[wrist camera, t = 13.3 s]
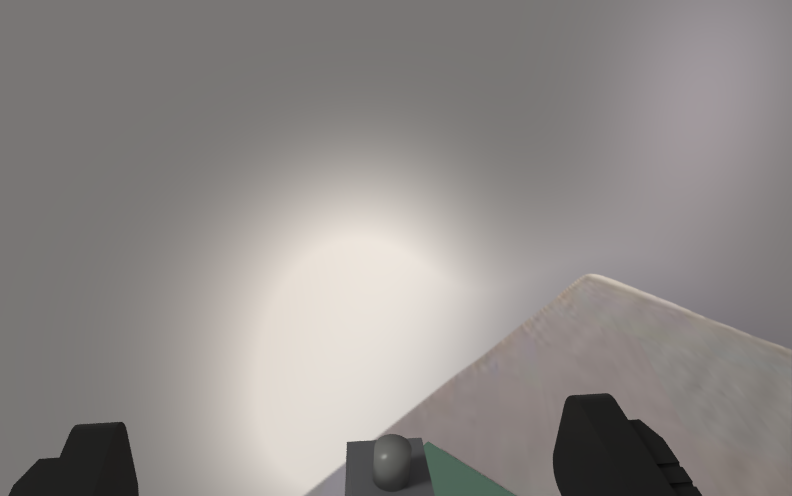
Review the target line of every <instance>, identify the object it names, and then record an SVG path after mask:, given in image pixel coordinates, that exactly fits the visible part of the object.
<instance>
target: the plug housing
mask: <svg viewBox="0 0 792 496" xmlns="http://www.w3.org/2000/svg"><path fill="white" fill-rule="evenodd" d="M345 496H435V494H434V490H433V485H432V481H431V477H430V473H429V468H428V464H427V460H426V455H425V451H424V447H423V442H422V438H409V439H406V438H404V437H402V436H400V435H396V434H389V435H384V436H382V437H380V438H379V439H378V440H373V441H357V442H347V456H346V484H345Z"/></svg>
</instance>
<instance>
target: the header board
mask: <svg viewBox="0 0 792 496" xmlns="http://www.w3.org/2000/svg"><path fill="white" fill-rule="evenodd" d="M423 447H424V451H425V455H426V460H427V464H428V468H429V473H430V477H431V481H432V485H433V490H434V494H435V496H515V495H514V494H512V493H511V492H509V491H507V490H506V489H504V488H503V487H501V486H499V485H498V484H496V483H494V482H493V481H491V480H490V479H488V478H486V477H485V476H483V475H481V474H480V473H478V472H477V471H475V470H473V469H472V468H470V467H469V466H467V465H465V464H464V463H462V462H460V461H459V460H457V459H456V458H454V457H452V456H451V455H449V454H448V453H446V452H444V451H443V450H441V449H439V448H438V447H436V446H435V445H433V444H431V443H430V442H427V443H426V444H425V445H424V446H423Z"/></svg>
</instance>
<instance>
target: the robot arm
mask: <svg viewBox="0 0 792 496" xmlns="http://www.w3.org/2000/svg"><path fill="white" fill-rule="evenodd" d="M553 469H554V475H555V480H556V483H557V486H558V488H559V491H560V493H561V495H562V496H702V495H701V493H700V492H699V490H698V489H697V487H694V486H693V484H692V482H693V481H692V480H691V479H690V477H689V476H688V474H687V473H686V471H685V470H684V468H683V467H680V465H679V461H678V460H677V458H676V457H675V455H674V454H673V452H672V451H671V449H670V448H669V446H668V445H667V444H666V442H665V441H664V439H663V438H662V437H660V436H659V435H658V434H657V433H655V432H654V431H653V430H652V429H650V428H649V427H648V426H647V425H646V424H644V423H643V422H642V421H641V420H639V419H637V420H628V419H627V417H626V416H625V414H624V413H623V411H622V410H621V408H620V406H619V405H618V403H617V402H616V400H615V399H614V398H613V397H612V396H611V395H610V394H607V393H604V394H587V395H572V396H569V397H568V398H567V399H566V401H565V404H564V408H563V413H562V417H561V422H560V426H559V430H558V435H557V439H556V444H555V448H554V453H553ZM9 496H139V494H138V482H137V477H136V473H135V468H134V463H133V458H132V454H131V449H130V444H129V439H128V434H127V430H126V427H125V424H124V423H123V422H114V423H113V422H112V423H96V424H80V425H75V426H74V427H73V429H72V430H71V432H70V434H69V437H68V439H67V441H66V444H65V446H64V448H63V451H62V453H61V455H60V458H47V459H39V460H38V461H37V462H36V463H35V464H34V465H33V466H32V467H31V468H30V469H29V470H28V471H27V472H26V473H25V474H24V475H23V476H22V477H21V478H20V479H19V480H18V481H17V482H16V483H15V484H14V485H13V487H12V489H11V492H10V494H9Z"/></svg>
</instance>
